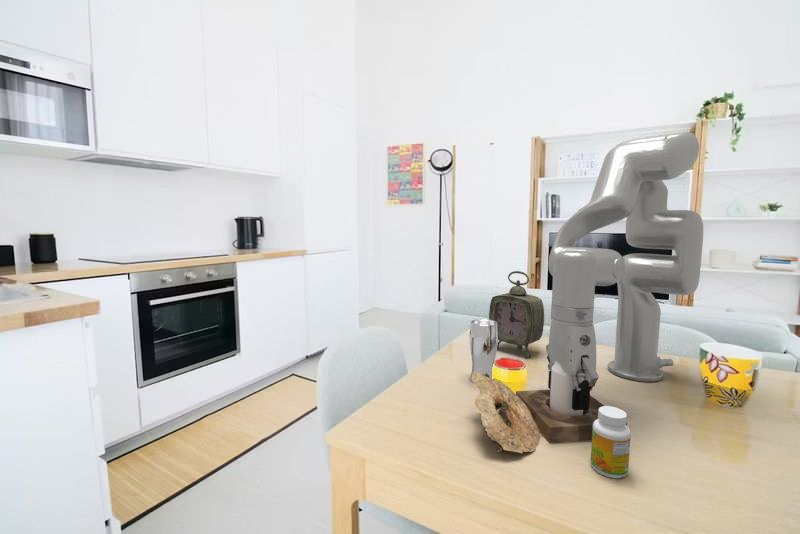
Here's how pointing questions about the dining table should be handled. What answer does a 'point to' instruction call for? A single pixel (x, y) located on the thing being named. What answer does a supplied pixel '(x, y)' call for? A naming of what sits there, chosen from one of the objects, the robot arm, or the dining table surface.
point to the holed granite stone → (505, 416)
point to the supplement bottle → (610, 443)
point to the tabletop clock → (518, 316)
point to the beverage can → (562, 391)
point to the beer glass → (483, 345)
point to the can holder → (559, 418)
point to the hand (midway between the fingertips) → (567, 398)
